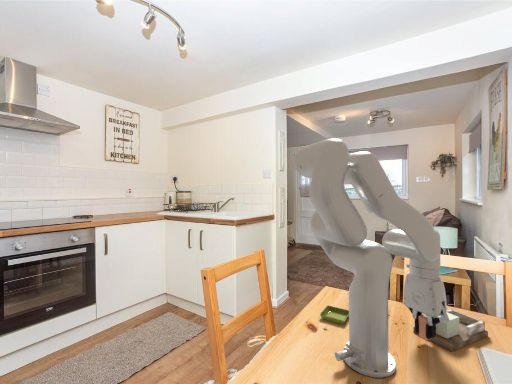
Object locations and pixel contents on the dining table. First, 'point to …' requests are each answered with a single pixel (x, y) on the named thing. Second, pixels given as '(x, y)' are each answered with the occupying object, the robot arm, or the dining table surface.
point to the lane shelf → (462, 332)
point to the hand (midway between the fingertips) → (425, 334)
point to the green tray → (335, 314)
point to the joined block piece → (440, 326)
